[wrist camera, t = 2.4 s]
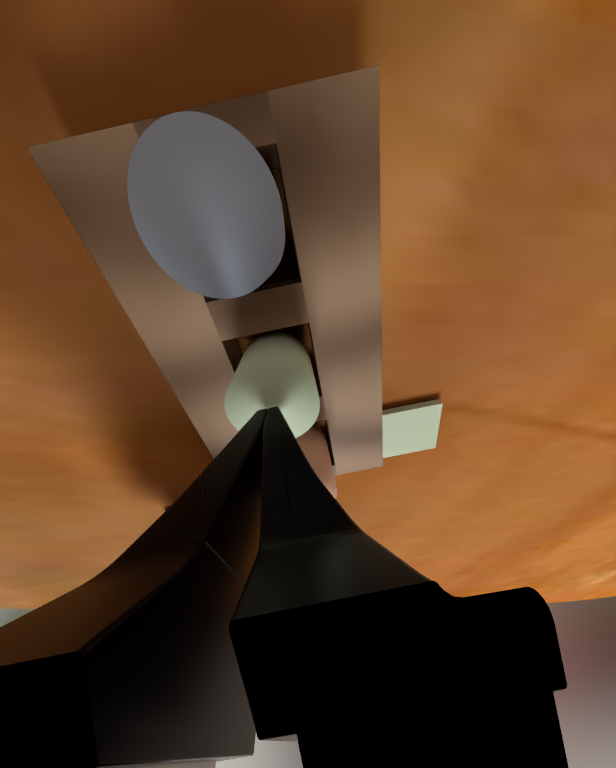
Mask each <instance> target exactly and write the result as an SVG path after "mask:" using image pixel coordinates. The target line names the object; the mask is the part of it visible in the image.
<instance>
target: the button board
mask: <svg viewBox="0 0 616 768" xmlns="http://www.w3.org/2000/svg"><path fill="white" fill-rule="evenodd" d="M184 111H191V112H200V113H204V114H208V115H211V116H213V117H216V118H218V119H220V120H222V121H224V122H226V123H227V124H229V125H231V126H232V127H234V128H235V129H236V130H237V131H239V132H240V133H241V134H242V135H244V136H245V137H246V139H247V140H248V141H249V142H250V143H251V144H252V145H253V146H254V147H255V148H256V150H257V151H258V152H259V154H260V155H261V156H262V158H263V159H264V161H265V163H266V164H267V166H268V168H269V170H272V169H276V168H279V171H280V176H281V182H282V187H283V193H284V198H285V203H286V209H287V214H288V220H289V225H290V230H291V236H292V241H293V246H294V252H295V257H296V263H297V268H298V273H299V278H297V279H292V280H288V281H283V282H278V283H274V284H269V285H264V286H260V287H258V288H257V289H255V290H253V291H252V292H250V293H248V294H246V295H243V296H240V297H236V298H230V299H218V298H211V297H207V296H203V295H200V294H198V293H195V292H193V291H191V290H189V289H187V288H185V287H184V286H182V285H181V284H179V283H178V282H176V281H175V280H174V279H173V278H171V277H170V276H169V275H168V274H167V273H166V272H165V271H164V270H163V269H162V268H161V267H160V266H159V265H158V264H157V262H156V261H155V260H154V259H153V258H152V256H151V255H150V253H149V252H148V250H147V249H146V247H145V245H144V243H143V242H142V240H141V238H140V236H139V234H138V231H137V229H136V227H135V224H134V221H133V218H132V214H131V210H130V206H129V201H128V191H127V174H128V168H129V162H130V158H131V155H132V152H133V149H134V147H135V145H136V143H137V141H138V139H139V138H140V136H141V135H142V134H143V132H144V131H145V130H146V129H147V128H148V127H149V126H150V125H151V124H152V123H153V122H155V121H156V120H158V119H160V118H161V117H163V116H166V115H163V116H158V117H154V118H150V119H146V120H141V121H137V122H133V123H128V124H124V125H120V126H116V127H111V128H107V129H103V130H98V131H94V132H90V133H86V134H81V135H77V136H73V137H69V138H64V139H60V140H56V141H51V142H47V143H43V144H39V145H34V146H30V147H26V148H27V149H28V151H29V153H30V154H31V156H32V158H33V159H34V161H35V163H36V164H37V166H38V168H39V169H40V171H41V173H42V174H43V176H44V178H45V179H46V181H47V183H48V184H49V186H50V188H51V189H52V191H53V193H54V194H55V196H56V198H57V199H58V201H59V203H60V204H61V206H62V208H63V209H64V211H65V212H66V214H67V216H68V217H69V219H70V221H71V222H72V224H73V226H74V227H75V229H76V231H77V232H78V234H79V236H80V237H81V239H82V241H83V242H84V244H85V246H86V247H87V249H88V251H89V252H90V254H91V256H92V257H93V259H94V261H95V262H96V264H97V266H98V267H99V269H100V271H101V272H102V274H103V276H104V277H105V279H106V281H107V282H108V284H109V285H110V287H111V289H112V290H113V292H114V294H115V295H116V297H117V299H118V300H119V302H120V304H121V305H122V307H123V309H124V310H125V312H126V314H127V315H128V317H129V319H130V320H131V322H132V324H133V325H134V327H135V329H136V330H137V332H138V334H139V335H140V337H141V339H142V340H143V342H144V344H145V345H146V347H147V349H148V350H149V352H150V354H151V355H152V357H153V358H154V360H155V362H156V363H157V365H158V367H159V368H160V370H161V372H162V373H163V375H164V377H165V378H166V380H167V382H168V383H169V385H170V387H171V388H172V390H173V392H174V393H175V395H176V397H177V398H178V400H179V402H180V403H181V405H182V407H183V408H184V410H185V412H186V413H187V415H188V417H189V418H190V420H191V422H192V423H193V425H194V426H195V428H196V430H197V431H198V433H199V435H200V436H201V438H202V440H203V441H204V443H205V445H206V446H207V448H208V450H209V451H210V453H211V455H212V456H213V458H214V459H215V457H216V456H217V455H218V454H219V453H220V452H221V451H222V450H223V449H224V447H225V446H226V445H227V444H228V443H229V442H230V441H231V440H232V438H233V437H234V436H235V435H236V434H237V433H238V432H239V431H238V430H237V429H236V428H235V427H234V426H233V425H232V424H231V422H230V421H229V419H228V417H227V415H226V412H225V408H224V400H225V395H226V392H227V389H228V387H229V385H230V383H231V381H232V378H233V376H234V374H235V372H236V370H237V367H238V365H239V363H240V361H241V359H242V353H241V350H240V348H239V345H238V342H237V340H236V338H238V337H243V336H248V335H253V334H258V333H262V332H267V331H272V330H277V329H281V328H286V327H291V326H296V325H301V324H305V323H308V327H309V333H310V338H311V343H312V349H313V354H314V360H315V365H316V370H317V376H318V377H316V378H315V382H316V386H317V391H318V395H319V400H320V410H319V414H318V417H317V419H316V421H315V422H318V421H323V420H326V424H327V430H328V435H329V440H330V441H329V442H327V446H328V451H329V455H330V460H331V465H332V469H333V474H334V476H335V475H340V474H345V473H350V472H355V471H360V470H366V469H371V468H376V467H381V466H383V431H382V338H381V245H380V152H379V65H377V66H373V67H368V68H364V69H360V70H355V71H351V72H347V73H343V74H338V75H334V76H330V77H325V78H321V79H317V80H313V81H308V82H304V83H300V84H295V85H291V86H287V87H283V88H278V89H274V90H270V91H265V92H261V93H257V94H253V95H248V96H244V97H240V98H236V99H231V100H227V101H223V102H218V103H214V104H210V105H206V106H201V107H197V108H193V109H188V110H184ZM180 112H183V111H180ZM171 114H172V113H171ZM167 115H169V114H167Z"/></svg>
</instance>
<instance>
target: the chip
mask: <svg viewBox="0 0 616 768" xmlns="http://www.w3.org/2000/svg"><path fill="white" fill-rule="evenodd" d="M442 405H443V403H442V402H441V401H440V400H439V399H436V400H431V401H426V402H421V403H416V404H411V405H406V406H401V407H396V408H391V409H386V410H382V431H383V458H385V457H391V456H396V455H401V454H406V453H411V452H416V451H421V450H427V449H432V448H435V447H436V441H437V435H438V429H439V423H440V417H441V411H442Z"/></svg>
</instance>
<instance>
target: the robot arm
mask: <svg viewBox="0 0 616 768" xmlns="http://www.w3.org/2000/svg"><path fill="white" fill-rule="evenodd" d="M566 687H567V682H566V677H565V673H564V667H563V663H562V658H561V653H560V648H559V643H558V638H557V633H556V628H555V624H554V620H553V617H552V614H551V612H550V609H549V607H548V605H547V604H546V602H545V600H544V599H543V598H542V596H541V595H540V594H539V593H538V592H537V591H536V590H534V589H533V588H530V587H523V588H517V589H511V590H505V591H499V592H493V593H487V594H482V595H476V596H470V597H464V598H463V597H454V596H452V595H450V594H449V593H447V592H445V591H444V590H443V589H442V588H441V587H440V586H439V585H438V584H437V582H435V581H432V580H430V579H429V578H427V577H425V576H424V575H422V574H420V573H419V572H418V571H416V570H415V569H414V568H412V567H411V566H409V565H408V564H407V563H405V562H404V561H403V560H401V559H400V558H399V557H397V556H396V555H394V554H393V553H392V552H390V551H389V550H388V549H386V548H385V547H384V546H382V545H381V544H379V543H378V542H377V541H375V540H374V539H373V538H371V537H370V536H369V535H367V534H366V533H365V532H364V531H362V530H361V529H360V528H359V527H358V526H357V525H356V523H355V522H354V521H353V520H352V519H351V518H350V517H349V515H348V514H347V513H346V512H345V511H344V509H343V508H342V507H341V505H340V504H339V503H338V502H337V500H336V499H335V498H334V497H333V495H332V494H331V493H330V492H329V490H328V489H327V488H326V487H325V485H324V484H323V483H322V481H321V480H320V479H319V477H318V476H317V474H316V473H315V472H314V470H313V468H312V467H311V465H310V463H309V462H308V460H307V458H306V456H305V455H304V453H303V451H302V449H301V447H300V445H299V443H298V442H297V440H296V438H295V436H294V434H293V432H292V431H291V429H290V427H289V425H288V423H287V421H286V420H285V418H284V416H283V414H282V412H281V410H280V409H279V407H278V406H275V407H271V408H268V409H267V408H266V409H261V410H258V411H257V412H256V413H255V414H254V415H253V416H252V417H251V418H250V419H249V420H248V422H247V423H246V424H245V425H244V426H243V427H242V428H241V429H240V431H239V432H238V433H237V434H236V435H235V436H234V437H233V438H232V440H231V441H230V442H229V443H228V444H227V445H226V446H225V447H224V449H223V450H222V451H221V452H220V453H219V454H218V455H217V456H216V457H215V459H214V460H213V461H212V462H211V463H210V464H209V465H208V466H207V468H206V469H205V470H204V471H203V472H202V475H199V476H198V478H197V479H196V480H195V481H194V482H193V483H192V484H191V485H190V486H189V487H188V489H187V490H186V491H185V492H184V493H183V494H182V495H181V496H180V497H179V498H178V499H177V500H176V501H175V502H174V503H173V504H172V505H171V506H170V507H169V508H168V509H167V510H166V511H165V512H164V513H163V514H162V515H161V516H160V517H159V518H158V519H157V520H156V521H155V522H154V523H153V524H152V525H151V526H150V527H149V528H148V529H147V530H146V531H145V532H144V533H143V534H142V535H141V536H140V537H139V538H138V539H137V540H136V541H135V542H134V543H133V544H132V545H131V546H130V547H129V548H128V549H127V550H126V551H125V552H124V553H123V554H122V555H121V556H120V557H118V558H117V559H116V560H115V561H114V562H113V563H112V564H111V565H110V566H108V567H107V568H106V569H105V570H103V571H102V572H101V573H99V574H98V575H97V576H95V577H94V578H92V579H91V580H89V581H88V582H86V583H84V584H83V585H81V586H79V587H77V588H76V589H74V590H72V591H70V592H68V593H66V594H64V595H62V596H60V597H58V598H56V599H54V600H52V601H50V602H49V603H47V604H45V605H43V606H41V607H39V608H37V609H35V610H33V611H31V612H29V613H27V614H25V615H23V616H21V617H19V618H18V619H16V620H14V621H12V622H10V623H8V624H6V625H4V626H2V627H0V768H215V764H216V762H217V761H223V760H229V759H234V758H241V757H247V756H252V755H253V753H254V744H255V733H257V737H258V739H259V740H272V741H296V742H298V744H299V749H300V754H301V759H302V764H303V768H568V763H567V758H566V753H565V748H564V744H563V739H562V734H561V729H560V724H559V719H558V714H557V709H556V705H555V699H554V694H553V693H554V692H556V691H560V690H563V689H566Z"/></svg>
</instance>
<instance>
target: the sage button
mask: <svg viewBox="0 0 616 768" xmlns="http://www.w3.org/2000/svg"><path fill="white" fill-rule="evenodd" d="M275 406H278V407H279V409H280V410H281V412H282V414H283V416H284V418H285V420H286V421H287V423H288V425H289V427H290V429H291V431H292V432H293V434H294V436H295V438H297V437H299V436H301V435H302V434H304V433H305V432H306V431H308V430H309V429H310V428H311V427H312V425H313V424H314V423H315V421H316V419H317V417H318V414H319V410H320V400H319V395H318V391H317V386H316V382H315V377H314V373H313V369H312V364H311V360H310V356H309V353H308V351H307V349H306V348H305V346H304V345H303V344H302V343H301V342H300V341H299V340H298V339H296V338H295V337H293V336H291V335H289V334H285V333H280V332H271V333H266V334H263V335H260V336H258V337H257V338H255V339H254V340H253V341H252V342H251V343H250V344H249V345H248V346H247V348H246V350H245V352H244V354H243V356H242V359H241V361H240V363H239V365H238V367H237V370H236V372H235V374H234V376H233V378H232V381H231V383H230V385H229V387H228V389H227V392H226V395H225V400H224V408H225V412H226V415H227V417H228V419H229V421H230V422H231V424H232V425H233V426H234V427H235V428H236V429H237V430H238V431H240V429H241V428H242V427H243V426H244V425H245V424H246V423H247V422H248V420H249V419H250V418H251V417H252V416H253V415H254V414H255V413H256V412H257V411H258V410H261V409H266V408H267V409H268V408H271V407H275Z"/></svg>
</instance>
